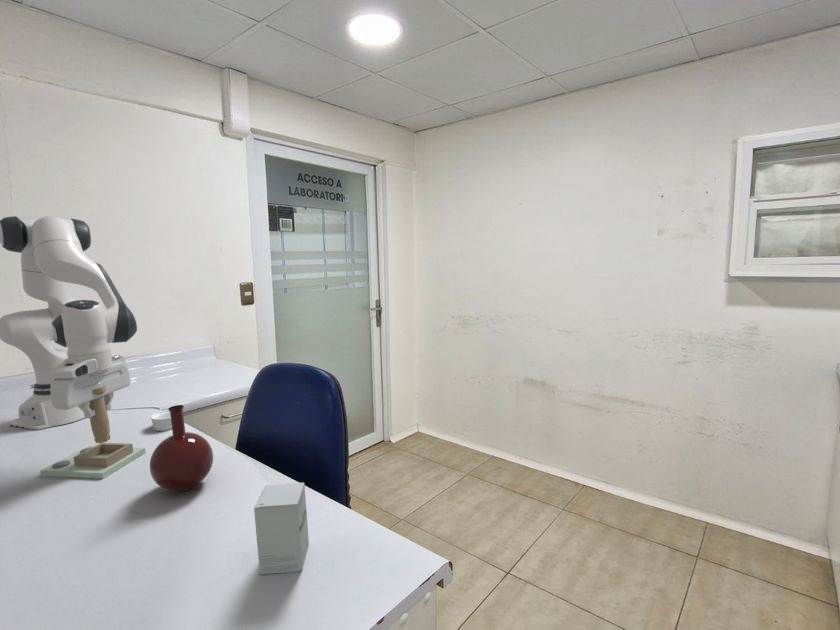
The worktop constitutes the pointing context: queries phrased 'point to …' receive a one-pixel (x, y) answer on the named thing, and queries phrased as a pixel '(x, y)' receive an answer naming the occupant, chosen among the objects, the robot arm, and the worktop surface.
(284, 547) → the supplement box
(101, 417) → the handle
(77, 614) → the worktop surface
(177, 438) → the round-bottom flask
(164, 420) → the ramekin
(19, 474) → the worktop surface
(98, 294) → the robot arm
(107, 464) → the green board with frame
